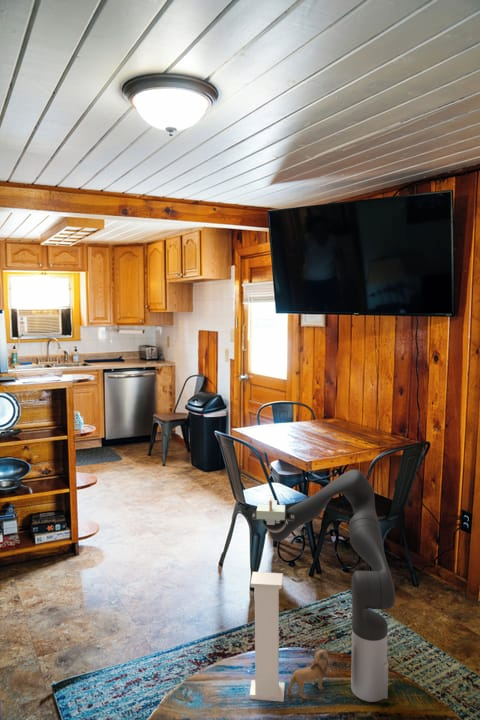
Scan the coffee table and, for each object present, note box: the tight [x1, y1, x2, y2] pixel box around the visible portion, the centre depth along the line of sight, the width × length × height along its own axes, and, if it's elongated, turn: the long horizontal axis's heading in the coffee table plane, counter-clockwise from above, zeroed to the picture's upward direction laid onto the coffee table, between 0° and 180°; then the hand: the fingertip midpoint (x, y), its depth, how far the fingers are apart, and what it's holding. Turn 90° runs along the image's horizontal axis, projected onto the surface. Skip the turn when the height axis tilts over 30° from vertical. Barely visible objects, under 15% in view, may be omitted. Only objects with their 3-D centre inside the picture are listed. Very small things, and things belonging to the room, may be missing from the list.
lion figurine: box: [286, 649, 329, 702], centre depth 146 cm, size 15×5×9 cm, turn 129°
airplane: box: [255, 497, 286, 525], centre depth 162 cm, size 8×14×7 cm, turn 173°
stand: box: [249, 571, 286, 703], centre depth 144 cm, size 9×6×32 cm, turn 83°
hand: (271, 512), depth 160 cm, fingers closed on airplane
